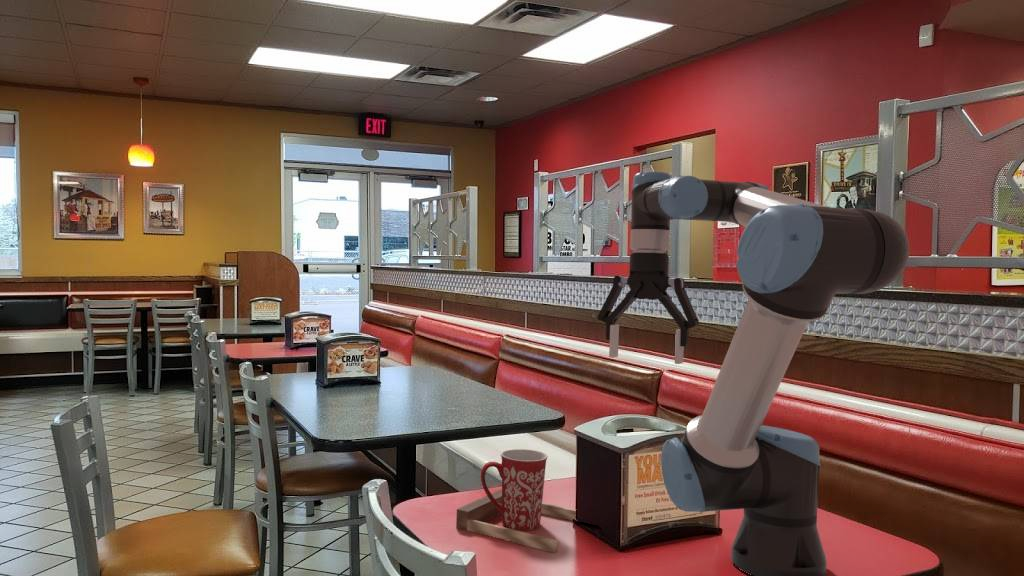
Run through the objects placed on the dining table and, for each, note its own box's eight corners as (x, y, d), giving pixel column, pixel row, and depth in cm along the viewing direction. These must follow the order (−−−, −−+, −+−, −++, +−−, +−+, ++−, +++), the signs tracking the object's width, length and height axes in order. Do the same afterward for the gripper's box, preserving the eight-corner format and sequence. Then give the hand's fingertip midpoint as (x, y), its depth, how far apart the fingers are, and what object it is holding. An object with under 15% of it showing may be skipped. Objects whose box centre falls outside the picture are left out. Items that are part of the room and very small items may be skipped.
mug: (544, 517, 147) (546, 449, 147) (546, 533, 138) (548, 461, 138) (480, 515, 147) (482, 447, 147) (478, 531, 138) (480, 459, 138)
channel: (597, 525, 143) (598, 507, 143) (554, 553, 129) (555, 533, 128) (505, 503, 154) (505, 487, 154) (456, 527, 140) (456, 509, 139)
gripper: (718, 253, 142) (714, 364, 143) (599, 251, 155) (595, 353, 156) (706, 252, 136) (702, 368, 137) (583, 250, 149) (580, 356, 150)
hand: (645, 360), depth 146 cm, fingers open, 13 cm apart
